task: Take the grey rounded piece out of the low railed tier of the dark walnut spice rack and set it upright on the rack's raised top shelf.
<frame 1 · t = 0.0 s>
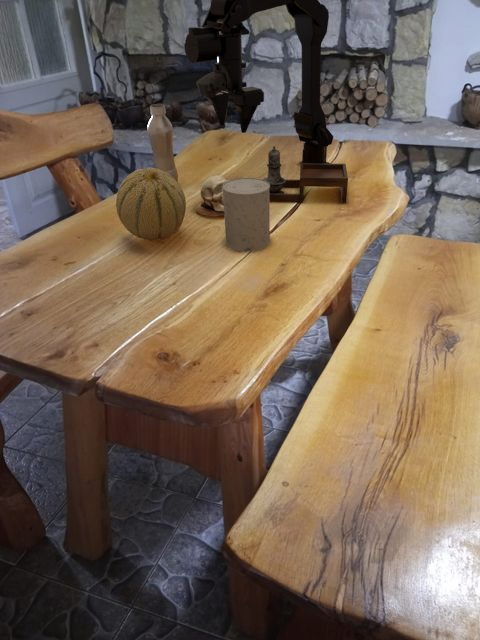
hand: (232, 128, 136), 15 cm above the table, tool pointing down, fingers open, 9 cm apart
grey rounded piece: (274, 194, 140), resting in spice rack
skull: (220, 209, 132), on the table
plastic bottle: (166, 187, 145), on the table
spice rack: (299, 194, 139), on the table
grey stone cylinder: (247, 242, 117), on the table
cantaloupe: (155, 237, 120), on the table
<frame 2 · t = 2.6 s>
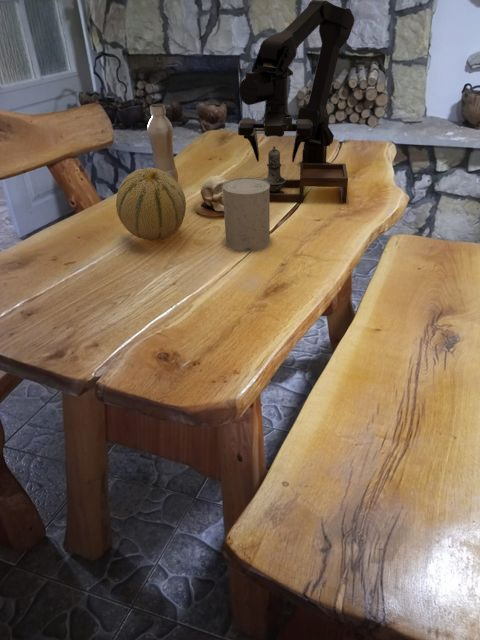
hand: (275, 161, 145), 5 cm above the table, tool pointing down, fingers open, 9 cm apart
nothing on the table moved.
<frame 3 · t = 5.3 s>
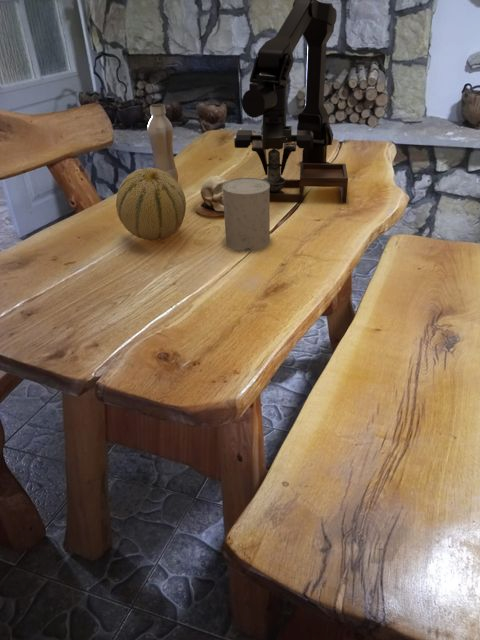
hand: (274, 174, 137), 5 cm above the table, tool pointing down, fingers closed on grey rounded piece, 3 cm apart
grey rounded piece: (274, 194, 140), resting in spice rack, touching gripper
everything else where it was.
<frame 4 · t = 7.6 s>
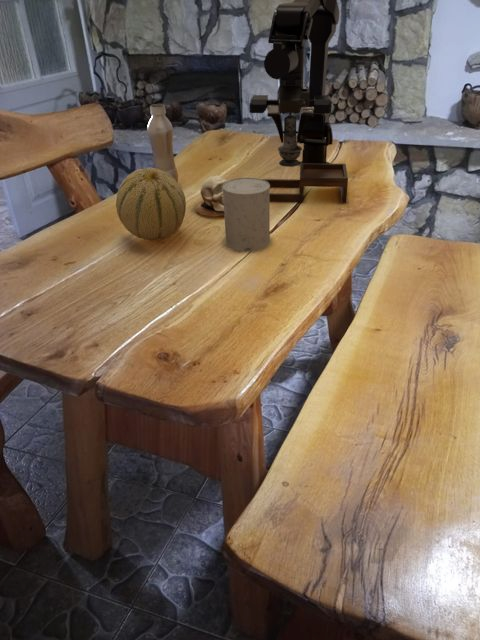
hand: (289, 142, 132), 13 cm above the table, tool pointing down, fingers closed on grey rounded piece, 3 cm apart
grey rounded piece: (289, 164, 135), point 8 cm above the table, touching gripper
everything else where it was.
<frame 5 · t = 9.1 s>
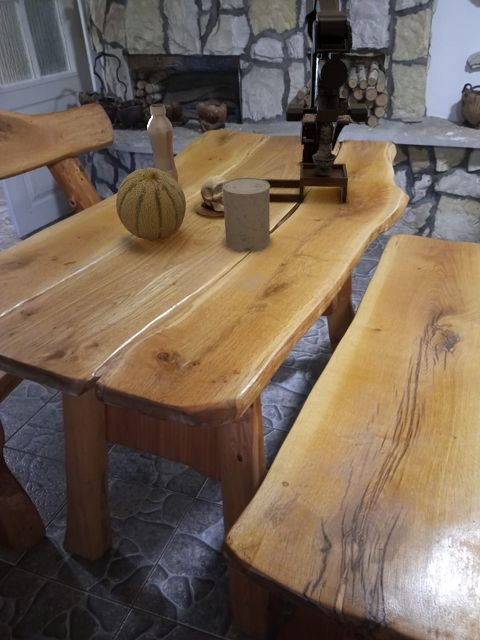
hand: (324, 150, 133), 11 cm above the table, tool pointing down, fingers closed on grey rounded piece, 3 cm apart
grey rounded piece: (323, 171, 136), point 6 cm above the table, touching gripper
everything else where it was.
when the fingers open (10 cm above the table, at t = 9.7 s): grey rounded piece stays where it is, resting on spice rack.
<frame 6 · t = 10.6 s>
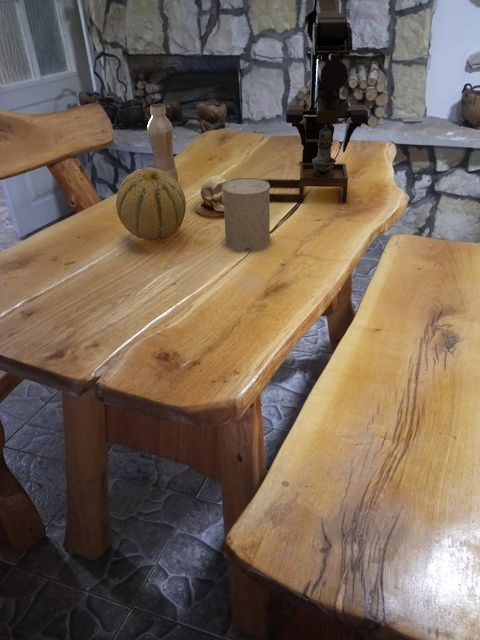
hand: (324, 151, 133), 11 cm above the table, tool pointing down, fingers open, 9 cm apart
grey rounded piece: (323, 175, 136), point 5 cm above the table, touching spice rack
everything else where it was.
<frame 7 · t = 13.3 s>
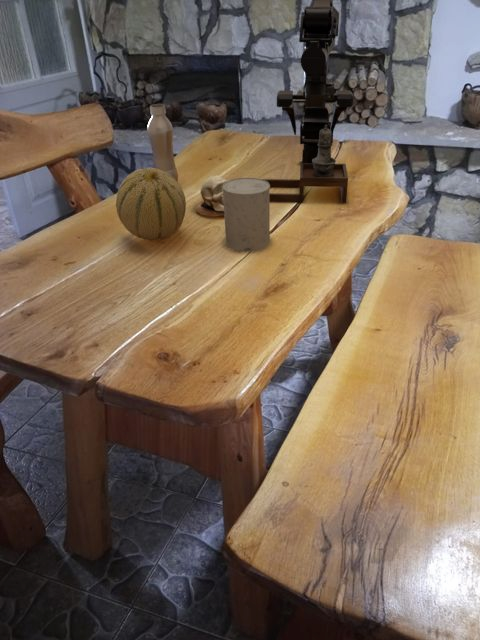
hand: (313, 134, 141), 12 cm above the table, tool pointing down, fingers open, 9 cm apart
nothing on the table moved.
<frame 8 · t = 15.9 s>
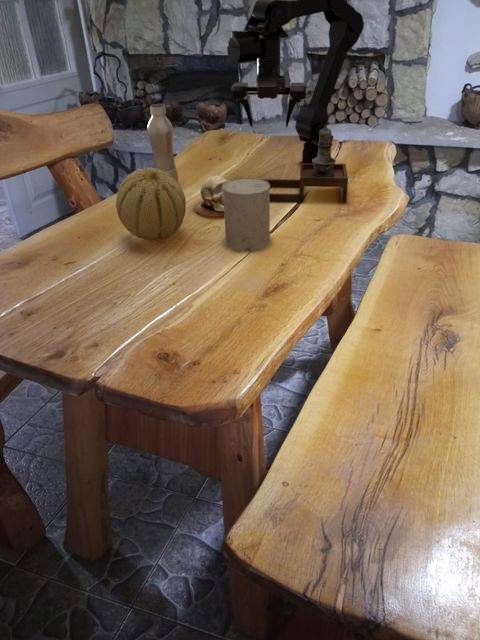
hand: (269, 126, 143), 13 cm above the table, tool pointing down, fingers open, 9 cm apart
nothing on the table moved.
at the end: grey rounded piece 0.1 cm from the target spot on the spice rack, point 4.8 cm above the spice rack's base; grey rounded piece tilted 0°; the gripper is holding nothing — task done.
